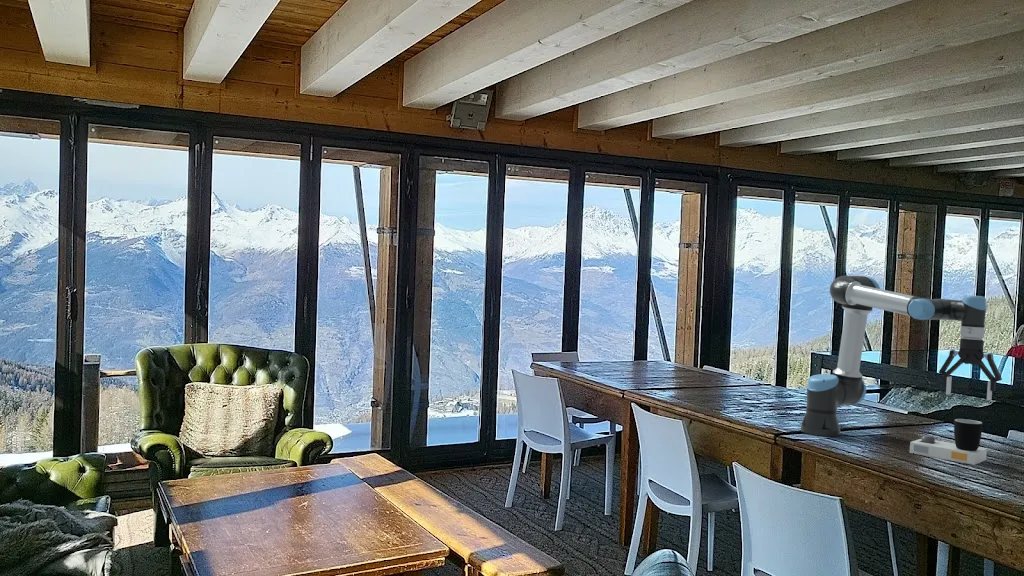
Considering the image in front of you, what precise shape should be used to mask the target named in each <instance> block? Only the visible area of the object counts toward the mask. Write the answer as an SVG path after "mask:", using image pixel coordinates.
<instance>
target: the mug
mask: <svg viewBox="0 0 1024 576" xmlns="http://www.w3.org/2000/svg"><path fill="white" fill-rule="evenodd" d="M953 422H954V423H953V435H954V436H953V437H954V443H955V444H956V447H957V448H958V449H960V450H965V451H976V450H977V449H978V448H980V447H979V446H980V442H981V440H982V439H981V438H982V433H983V422H982V421H980V420H979V421H978V420H973V419H966V418H965V419H964V418H956V419H954V420H953Z"/></svg>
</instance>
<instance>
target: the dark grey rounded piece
mask: <svg viewBox="0 0 1024 576" xmlns="http://www.w3.org/2000/svg"><path fill="white" fill-rule="evenodd" d="M921 439H922V441H921V442H924V443H930V444H934V443H935V440H936V437H935V436H934V435H933V436H932V435H927V434H926V435H921Z"/></svg>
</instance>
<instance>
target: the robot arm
mask: <svg viewBox="0 0 1024 576" xmlns="http://www.w3.org/2000/svg"><path fill="white" fill-rule="evenodd" d="M829 294H830V296H831V298H832V299H833V300H834V301H835V302H836V303H838V304H841V308H842V309H843V310H844V318H843V324H842V332H841V338H840V345H839V352H838V358H837V359H838V360H837V365H836V368H835V369H834V370H832V373H831V374H829V373H819V374H814V375H811V376H809V377H808V379H807V384H806V388H807V389H806V405H805V407H806V409H805V413H804V416H803V420H802V421H801V423H800V431H801V432H802V433H805V434H809V435H815V436H820V437H821V436H822V437H837V436H840V435H841V427H840V424H839V420H838V417H837V411H838V410H837V409H838V408H837V407H841V406H843V407H845V406H846V407H848V406H853V405H857V404H859V403H861V402H862V401H863V400H864V399H865V396H866V394H867V386H866V384H865V381H864V380H863V374H862V372H861V371H860V368H861V361H862V353H863V349H864V341H865V339H864V338H865V333H866V328H867V321H868V315H869V314H870V313H872V312H873V308H874V309H879V310H883V311H887V312H891V313H895V314H900V315H905V316H908V317H911V318H913V319H914V320H920V321H926V320H928V321H929V320H930V321H932V320H933V321H934V320H935V321H939V320H941V321H957V322H961V323H960V325H961V326H960V337H961V338H960V339H959V350H956V349H950V350H949V354H948V357H947V358H946V359H945V361H944V363H943V364H942V366H941V367H940V369H939V371H938V374H940V375H942V376H943V385H944V386H946V387H945V388H946V389H945V395H948V396H949V395H951V394H952V379H953V377H952V374H953V373H954V372H955V371H956V370H957V369H958V368H959V367H960V366H961V365H963V364H965V365H969V364H970V365H973V366H975V365H977V366H978V367H979V368H980V370H981V371H982V372H983V373H984V375H985V376H986V377H987V378H988V380H989V381H987V387H986V388H987V390H986V391H987V392H986V401H992V396H993V392H995V391H996V384H997V382H999V381H1002V380H1003V379H1002V376H1001V373H1000V372H999V369H998V367H997V365H996V362H995V360H994V355H993V353H984V346H985V342H984V340H983V339H984V338H985V329H986V327H985V325H986V312H987V298H986V297H985V296H981V295H963V297H962V299H961V300H959V299H958V300H957V299H946V298H933V299H932V298H925V297H919V296H915V295H911V294H905V293H900V292H896V291H891V290H887V289H883V288H882V289H881V287H880V285H879V284H878V282H877V281H876V280H875V278H872V277H869V276H864V275H841V276H838V277H836V278H834V279H833V281H832V282H831V283H830V286H829ZM956 356H959V359H958V360H957V361H956V362H955V363H954V364H953V365H952V366H950V364H951V363H952V362H953V360H954V358H955V357H956ZM984 358H985V360H986V361H987V362H988V366H989V367H990V370H989V369H988V367H987V366H986V364H985V363H984V361H983V359H984ZM949 366H950V368H949ZM948 368H949V369H948ZM950 375H951V376H950Z"/></svg>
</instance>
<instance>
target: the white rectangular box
mask: <svg viewBox="0 0 1024 576" xmlns="http://www.w3.org/2000/svg"><path fill="white" fill-rule="evenodd" d="M921 441H922V438H919V439H915V440H912V441H910V443H909V454H913V453H914V455H920V456H926V457H929V458H935V459H941V460H947V461H952V462H957V463H961V464H968V465H972V466H975V465H977V464H980V463H982V462H985V461H986V460H987V452H988V451H987V448H983V447H978V449H977V450H976V451H965V450H960V449H958V448H957V447H956V444H955V442H954V443H953V442H949V441H942V440H937V439H935V443H934V444H930V443H924V442H921Z"/></svg>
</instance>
